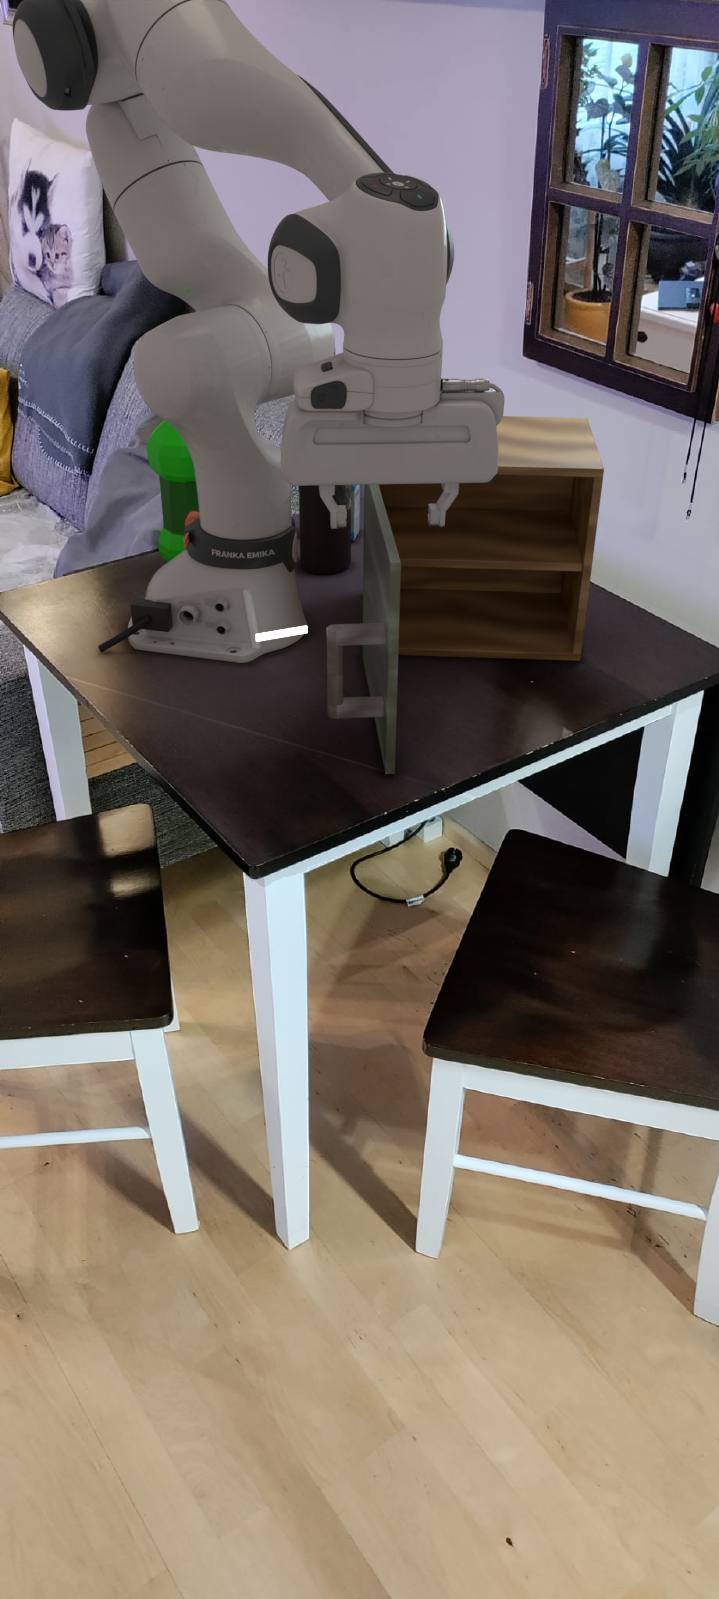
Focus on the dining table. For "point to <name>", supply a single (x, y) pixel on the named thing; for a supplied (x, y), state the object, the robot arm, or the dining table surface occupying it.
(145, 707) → the dining table surface
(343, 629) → the door
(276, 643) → the robot arm
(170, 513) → the plastic bottle
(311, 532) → the wine bottle
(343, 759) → the dining table surface
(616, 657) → the dining table surface
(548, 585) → the cupboard
